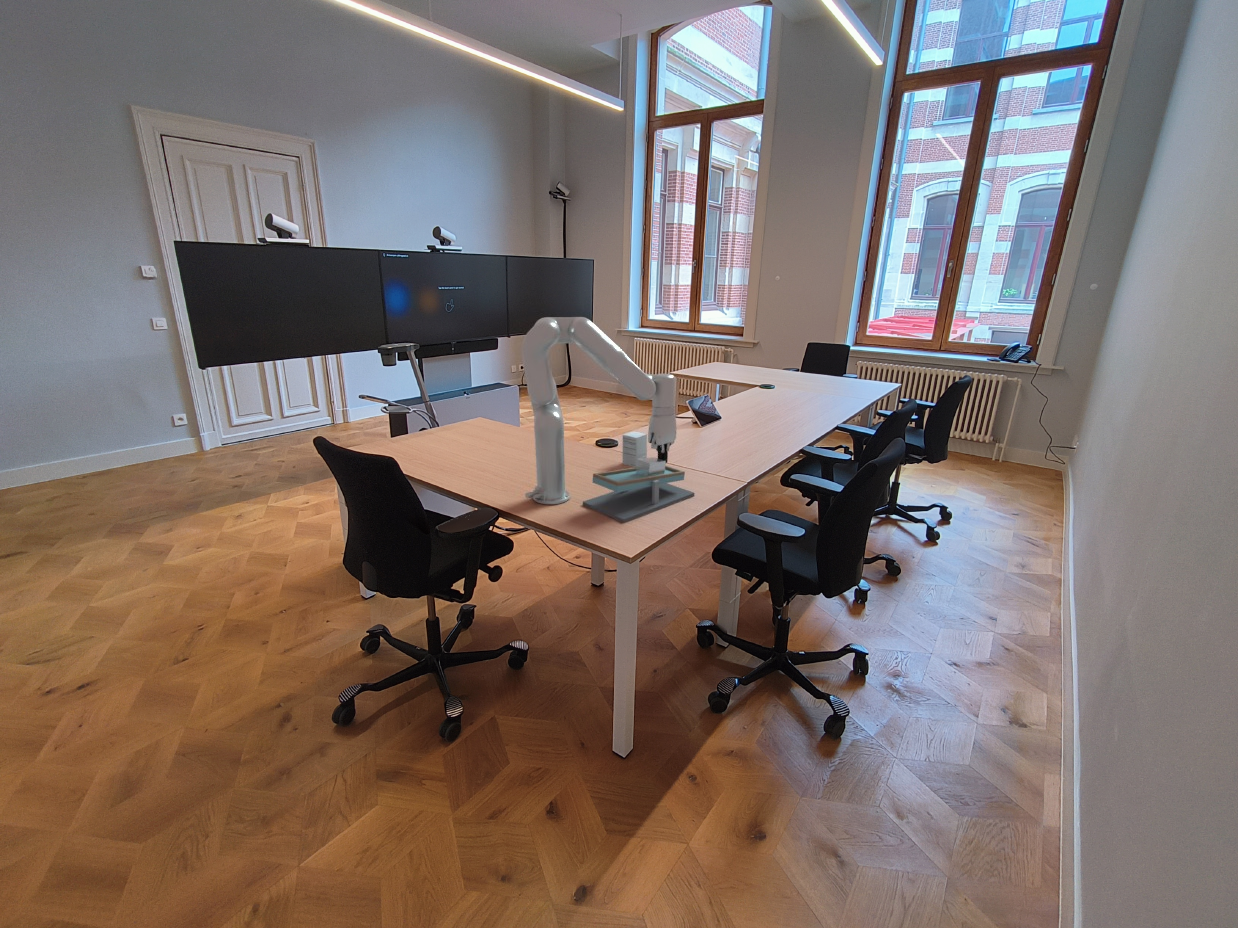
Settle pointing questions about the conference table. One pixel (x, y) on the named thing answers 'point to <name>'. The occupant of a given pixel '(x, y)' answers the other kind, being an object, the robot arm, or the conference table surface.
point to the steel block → (650, 466)
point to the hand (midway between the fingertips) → (662, 462)
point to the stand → (637, 501)
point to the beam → (634, 479)
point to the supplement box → (634, 448)
